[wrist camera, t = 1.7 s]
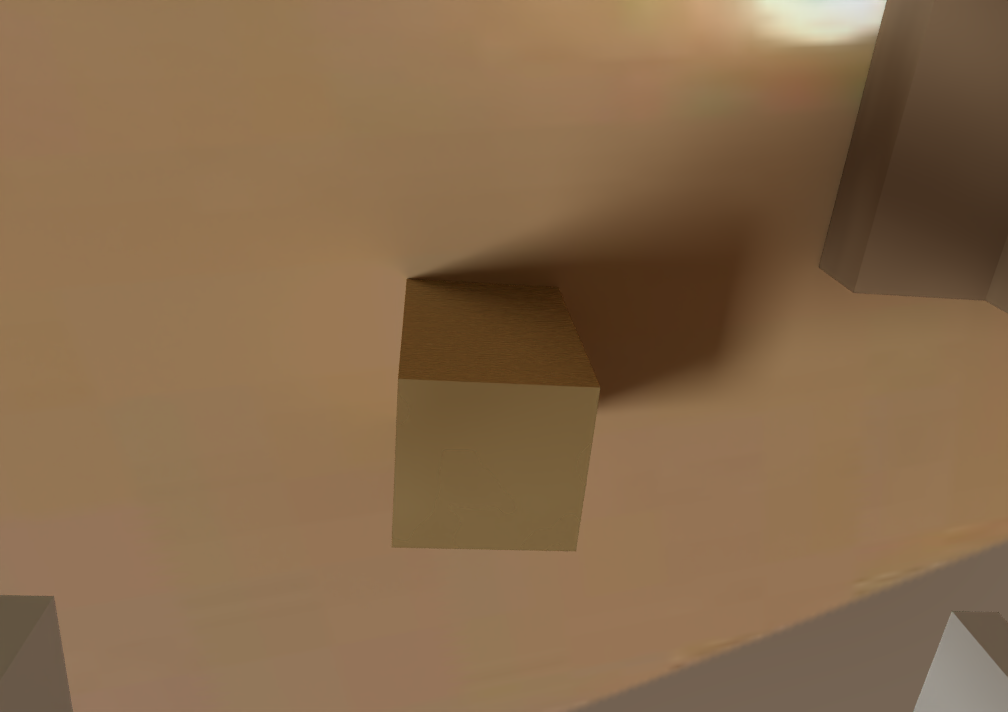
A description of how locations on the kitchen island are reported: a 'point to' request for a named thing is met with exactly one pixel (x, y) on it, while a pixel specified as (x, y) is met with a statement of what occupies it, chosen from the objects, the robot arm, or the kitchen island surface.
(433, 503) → the wooden block
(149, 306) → the kitchen island surface
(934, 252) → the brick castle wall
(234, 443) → the kitchen island surface
